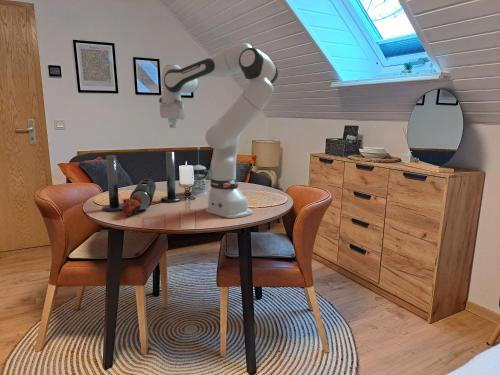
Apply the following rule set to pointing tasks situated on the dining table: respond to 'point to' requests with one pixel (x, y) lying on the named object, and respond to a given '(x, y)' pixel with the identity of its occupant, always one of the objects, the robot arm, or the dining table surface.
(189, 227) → the dining table surface
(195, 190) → the french press
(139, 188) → the muzzle brake
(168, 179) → the posts
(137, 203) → the pomegranate
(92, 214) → the dining table surface
